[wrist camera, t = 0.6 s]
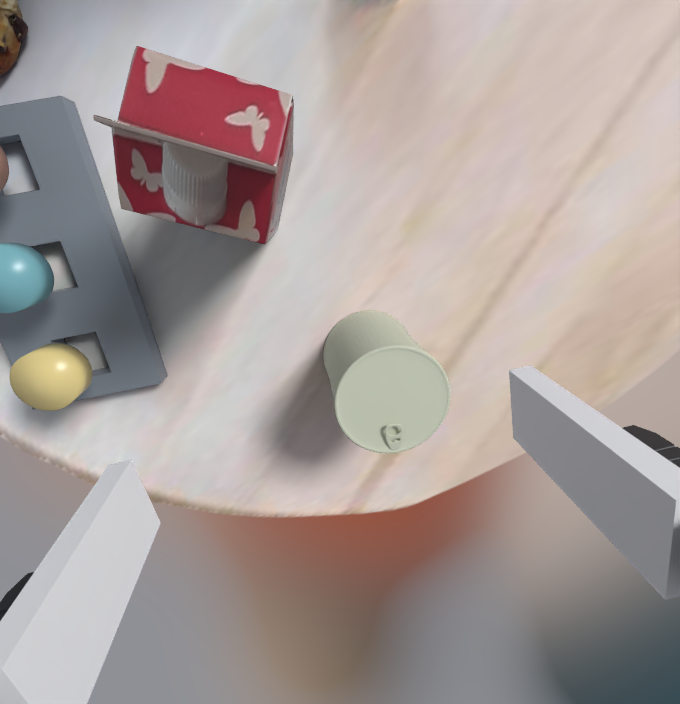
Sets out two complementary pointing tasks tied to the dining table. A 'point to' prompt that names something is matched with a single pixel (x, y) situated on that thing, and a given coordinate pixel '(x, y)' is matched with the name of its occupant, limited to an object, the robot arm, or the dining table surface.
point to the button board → (74, 251)
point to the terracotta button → (3, 169)
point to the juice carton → (202, 147)
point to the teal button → (23, 277)
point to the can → (384, 383)
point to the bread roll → (10, 33)
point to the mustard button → (51, 376)
